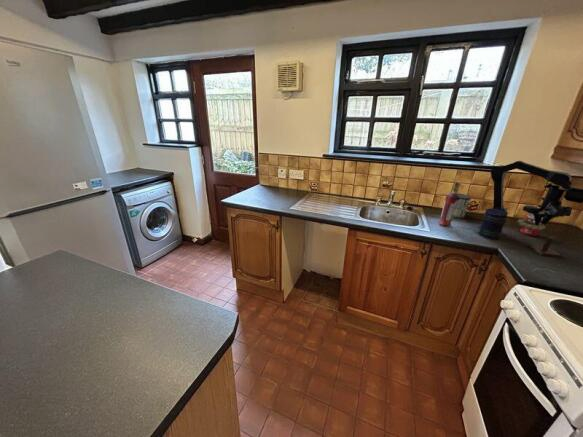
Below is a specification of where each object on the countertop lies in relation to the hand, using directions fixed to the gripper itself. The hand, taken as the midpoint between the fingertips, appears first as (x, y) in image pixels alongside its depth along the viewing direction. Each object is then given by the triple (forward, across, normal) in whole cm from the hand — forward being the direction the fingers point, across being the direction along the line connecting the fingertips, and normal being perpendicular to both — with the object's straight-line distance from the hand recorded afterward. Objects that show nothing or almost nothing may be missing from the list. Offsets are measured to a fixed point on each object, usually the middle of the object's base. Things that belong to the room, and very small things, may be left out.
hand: (539, 225), depth 129 cm
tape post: (+12, +1, -8) cm, 14 cm away
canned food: (+12, +9, +14) cm, 21 cm away
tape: (0, -4, 0) cm, 4 cm away
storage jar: (+11, -18, +6) cm, 22 cm away
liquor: (+11, -38, +17) cm, 43 cm away
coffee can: (+11, -22, +37) cm, 45 cm away
